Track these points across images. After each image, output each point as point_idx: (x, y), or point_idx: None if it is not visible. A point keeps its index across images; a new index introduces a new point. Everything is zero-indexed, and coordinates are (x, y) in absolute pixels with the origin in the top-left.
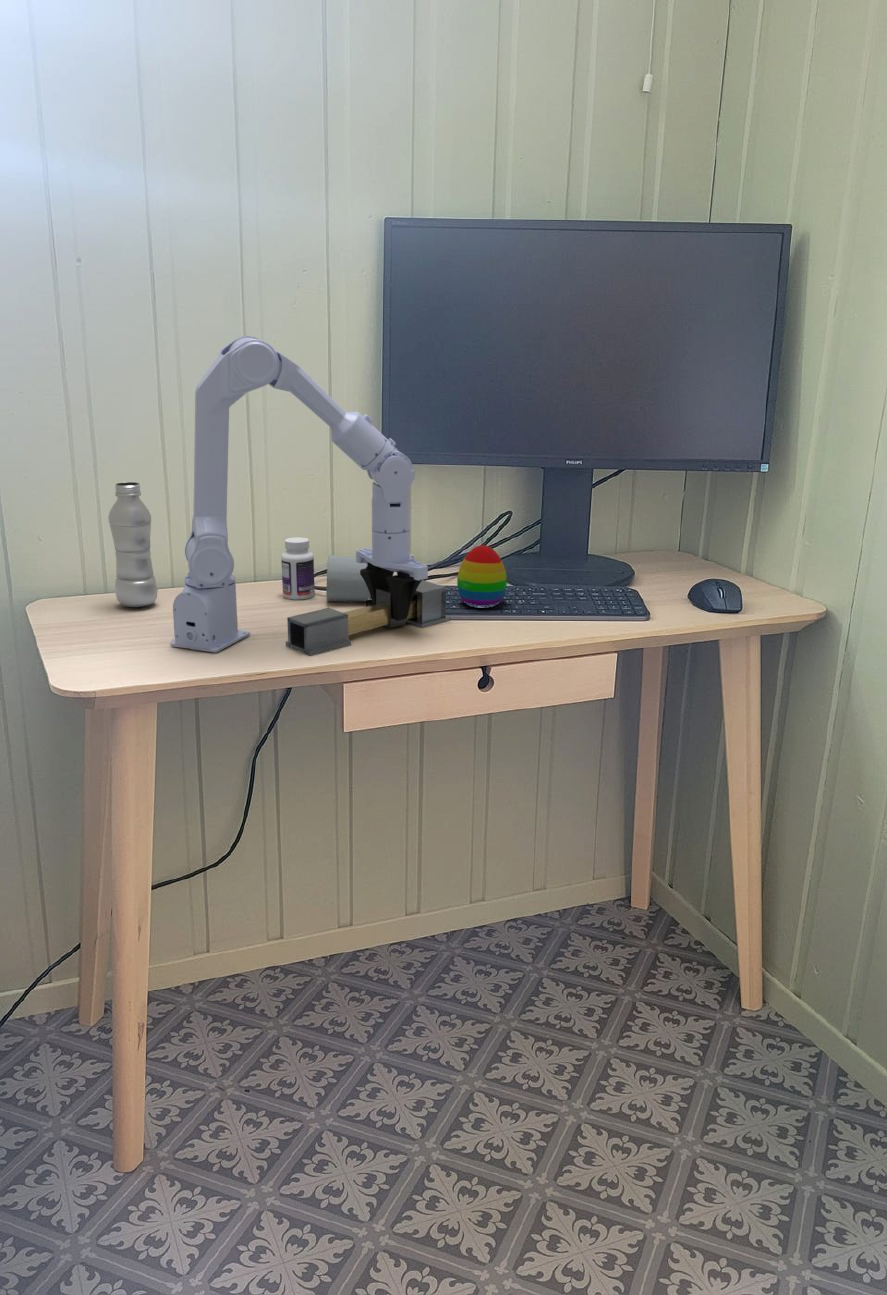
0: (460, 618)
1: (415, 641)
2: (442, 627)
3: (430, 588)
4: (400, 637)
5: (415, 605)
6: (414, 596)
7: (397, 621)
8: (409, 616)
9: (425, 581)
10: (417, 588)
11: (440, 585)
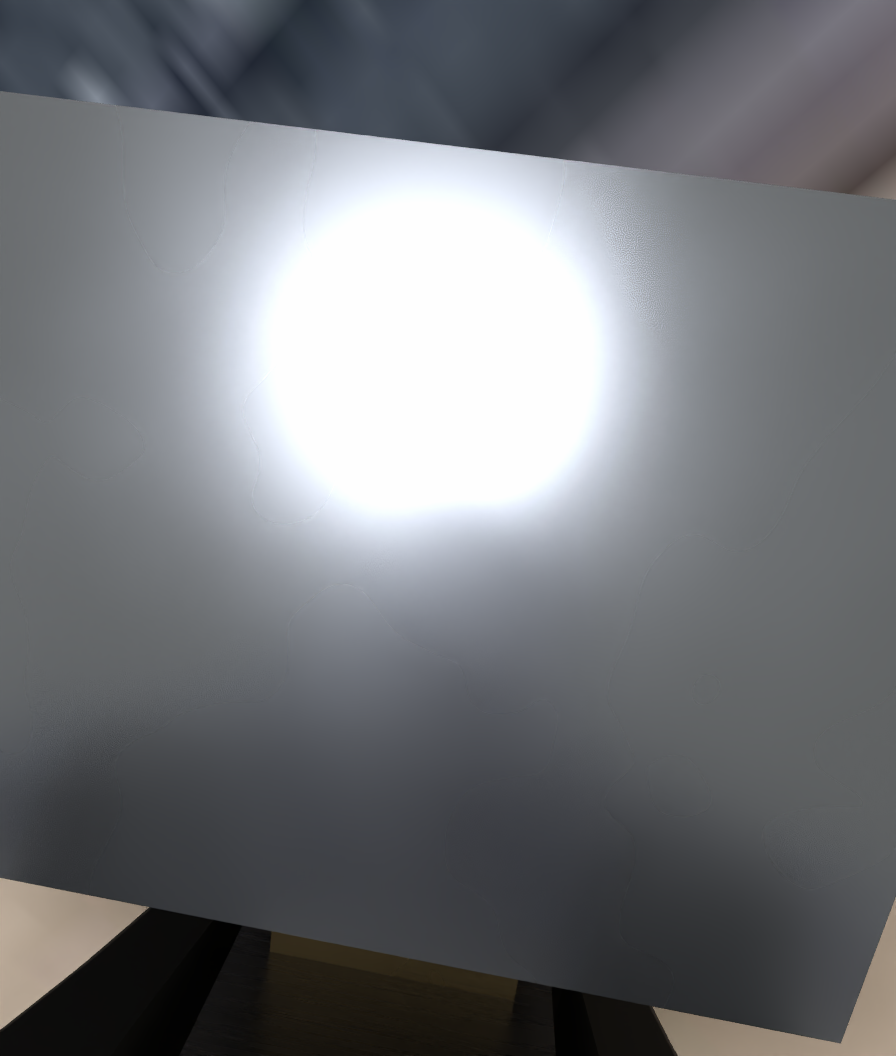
0: (869, 115)
1: (877, 1035)
2: None
3: (799, 670)
4: (693, 1019)
5: None
6: None
7: None
8: None
9: (212, 168)
10: (525, 853)
11: (869, 203)
